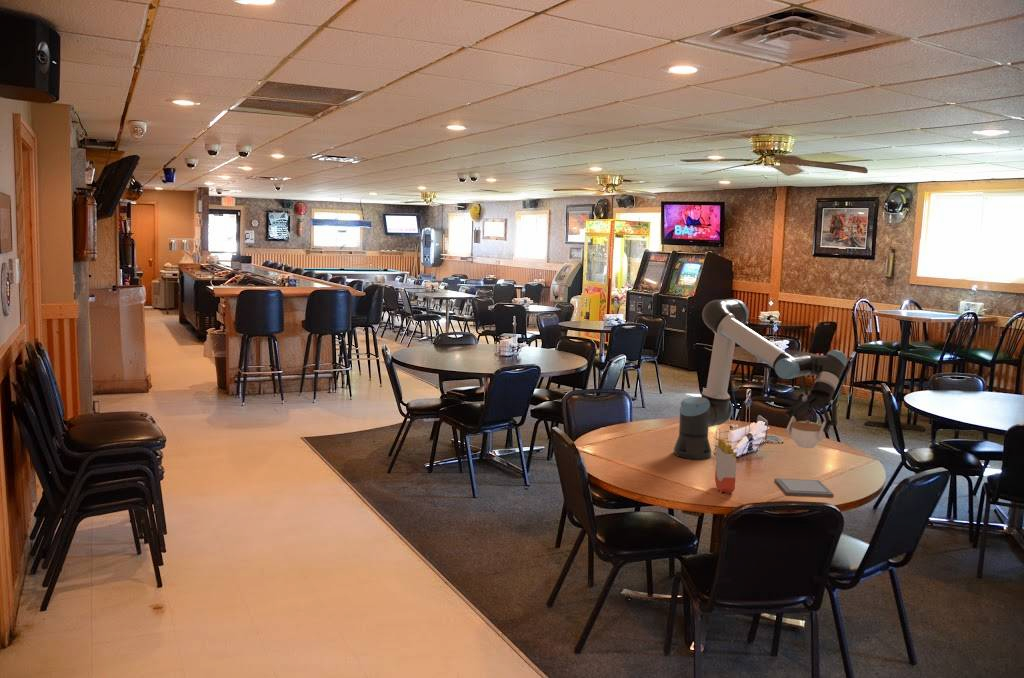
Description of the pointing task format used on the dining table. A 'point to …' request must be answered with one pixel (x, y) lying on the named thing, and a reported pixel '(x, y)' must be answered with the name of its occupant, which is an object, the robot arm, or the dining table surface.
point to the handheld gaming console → (767, 437)
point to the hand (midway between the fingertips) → (803, 435)
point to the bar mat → (803, 487)
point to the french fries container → (725, 467)
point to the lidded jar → (805, 433)
